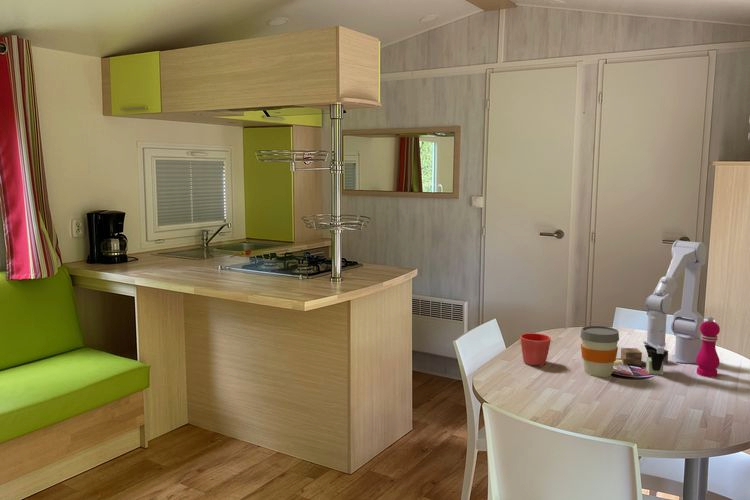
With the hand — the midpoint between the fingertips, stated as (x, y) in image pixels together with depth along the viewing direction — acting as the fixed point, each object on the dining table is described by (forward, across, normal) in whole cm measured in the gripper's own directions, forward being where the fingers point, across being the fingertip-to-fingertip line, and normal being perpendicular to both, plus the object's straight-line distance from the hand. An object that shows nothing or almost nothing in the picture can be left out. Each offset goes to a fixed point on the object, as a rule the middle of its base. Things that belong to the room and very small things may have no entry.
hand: (654, 368), depth 220 cm
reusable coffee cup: (+2, +4, -19) cm, 19 cm away
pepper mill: (+2, -1, +17) cm, 17 cm away
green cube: (+1, 0, 0) cm, 1 cm away
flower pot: (+2, -3, -40) cm, 40 cm away
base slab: (+2, -10, -6) cm, 12 cm away
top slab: (-1, -10, -6) cm, 11 cm away
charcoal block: (+2, -13, +4) cm, 14 cm away
